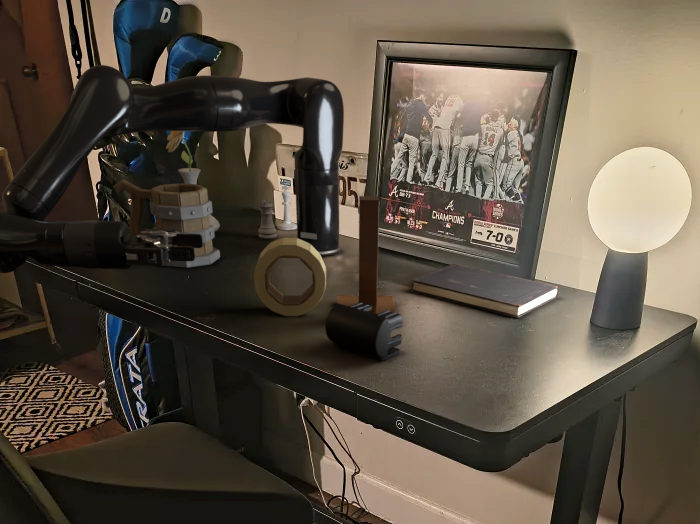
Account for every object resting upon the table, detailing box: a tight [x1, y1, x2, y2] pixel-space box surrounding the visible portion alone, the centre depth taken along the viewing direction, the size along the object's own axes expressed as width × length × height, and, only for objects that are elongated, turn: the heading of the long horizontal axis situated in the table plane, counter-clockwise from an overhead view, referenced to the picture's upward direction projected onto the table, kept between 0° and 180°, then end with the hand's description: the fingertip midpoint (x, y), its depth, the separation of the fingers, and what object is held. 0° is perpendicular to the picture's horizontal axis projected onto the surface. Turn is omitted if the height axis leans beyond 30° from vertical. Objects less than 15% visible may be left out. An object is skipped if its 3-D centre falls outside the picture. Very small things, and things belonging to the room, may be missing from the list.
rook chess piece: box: [257, 199, 278, 241], centre depth 172 cm, size 4×4×8 cm
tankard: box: [112, 178, 221, 269], centre depth 153 cm, size 20×13×15 cm, turn 80°
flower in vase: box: [165, 131, 221, 233], centre depth 168 cm, size 13×11×25 cm
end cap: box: [324, 303, 403, 361], centre depth 114 cm, size 10×7×7 cm
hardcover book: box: [410, 263, 559, 319], centre depth 142 cm, size 16×23×2 cm
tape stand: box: [336, 195, 397, 314], centre depth 126 cm, size 14×10×20 cm
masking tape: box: [253, 237, 327, 317], centre depth 127 cm, size 5×12×12 cm, turn 93°
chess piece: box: [276, 183, 297, 231], centre depth 180 cm, size 5×5×10 cm
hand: (198, 247), depth 124 cm, fingers open, 8 cm apart
